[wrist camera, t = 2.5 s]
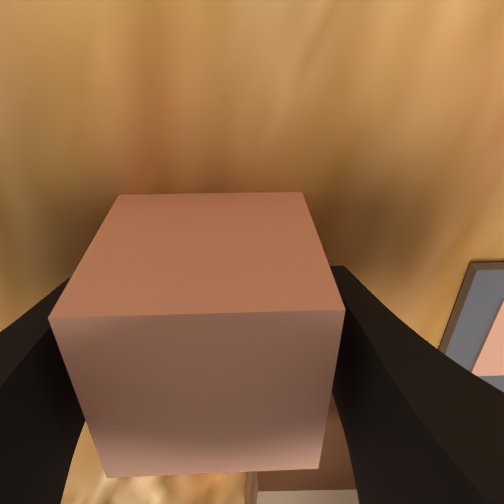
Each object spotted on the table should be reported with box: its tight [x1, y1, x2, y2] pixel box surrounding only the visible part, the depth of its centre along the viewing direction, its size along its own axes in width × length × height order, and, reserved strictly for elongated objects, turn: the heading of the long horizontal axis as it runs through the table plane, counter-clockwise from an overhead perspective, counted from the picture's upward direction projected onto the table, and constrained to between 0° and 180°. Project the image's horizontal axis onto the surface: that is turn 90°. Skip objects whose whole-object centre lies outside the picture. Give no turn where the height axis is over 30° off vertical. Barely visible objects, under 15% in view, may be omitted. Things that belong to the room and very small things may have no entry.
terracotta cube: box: [48, 192, 345, 478], centre depth 10 cm, size 5×5×5 cm
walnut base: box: [245, 392, 359, 504], centre depth 16 cm, size 8×8×4 cm
